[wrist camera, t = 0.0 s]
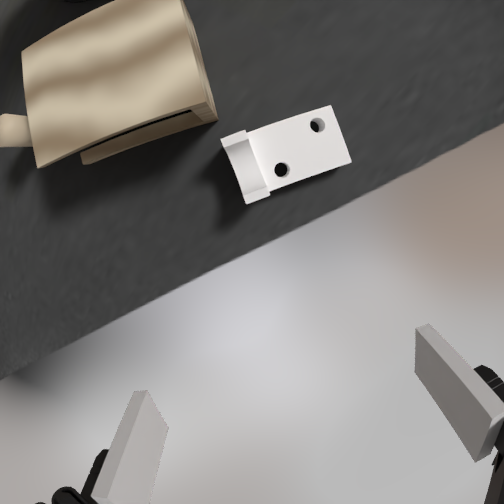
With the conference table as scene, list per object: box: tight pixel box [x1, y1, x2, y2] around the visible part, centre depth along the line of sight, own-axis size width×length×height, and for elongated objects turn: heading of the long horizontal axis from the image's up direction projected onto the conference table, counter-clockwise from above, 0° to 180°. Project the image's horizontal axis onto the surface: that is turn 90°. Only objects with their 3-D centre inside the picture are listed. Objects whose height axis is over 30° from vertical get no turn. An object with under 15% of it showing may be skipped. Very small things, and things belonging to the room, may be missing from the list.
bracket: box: [221, 105, 351, 204], centre depth 34 cm, size 13×7×8 cm, turn 111°
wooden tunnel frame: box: [22, 0, 218, 168], centre depth 29 cm, size 14×18×12 cm
